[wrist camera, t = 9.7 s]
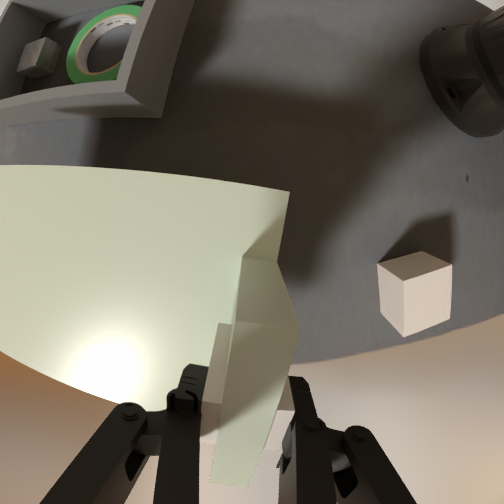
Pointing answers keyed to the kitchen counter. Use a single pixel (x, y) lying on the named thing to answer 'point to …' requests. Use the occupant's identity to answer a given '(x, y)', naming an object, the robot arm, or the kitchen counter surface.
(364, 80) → the kitchen counter surface
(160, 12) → the tub
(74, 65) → the tape roll
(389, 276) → the white cube
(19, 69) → the steel block
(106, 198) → the pale green l-shaped plate
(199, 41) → the kitchen counter surface
